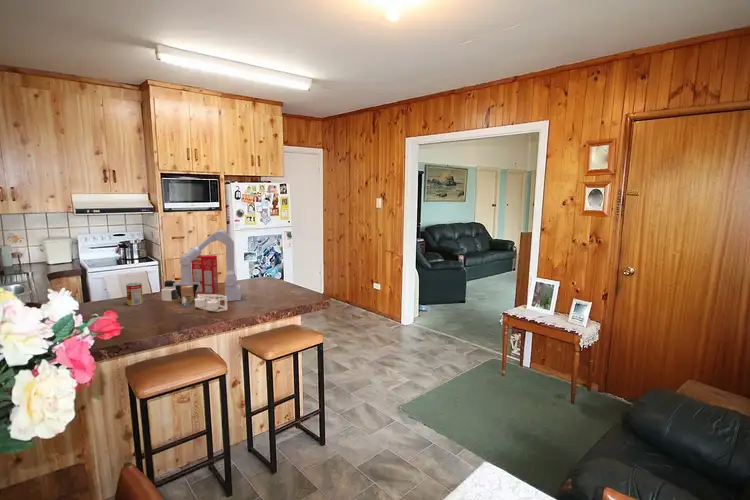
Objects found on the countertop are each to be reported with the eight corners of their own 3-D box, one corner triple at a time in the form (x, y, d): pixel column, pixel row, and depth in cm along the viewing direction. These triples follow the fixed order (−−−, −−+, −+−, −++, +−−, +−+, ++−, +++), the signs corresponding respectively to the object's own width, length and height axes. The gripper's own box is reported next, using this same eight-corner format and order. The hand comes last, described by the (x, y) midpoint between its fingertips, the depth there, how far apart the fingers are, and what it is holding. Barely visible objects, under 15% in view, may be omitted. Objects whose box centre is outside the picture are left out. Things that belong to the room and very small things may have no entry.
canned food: (139, 301, 245) (137, 281, 243) (145, 303, 240) (144, 283, 239) (125, 303, 239) (123, 284, 237) (131, 306, 234) (129, 286, 232)
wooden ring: (193, 300, 248) (193, 295, 248) (192, 302, 243) (192, 297, 243) (183, 301, 246) (183, 296, 246) (182, 303, 241) (182, 298, 241)
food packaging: (218, 292, 269) (216, 255, 266) (214, 294, 264) (212, 256, 260) (197, 291, 271) (195, 254, 267) (193, 293, 265) (191, 255, 262)
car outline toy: (191, 308, 232) (190, 296, 231) (207, 304, 241) (207, 292, 240) (214, 314, 222) (213, 301, 221) (230, 309, 231) (230, 296, 230)
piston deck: (189, 304, 240) (189, 296, 239) (188, 306, 234) (188, 298, 233) (180, 304, 238) (180, 296, 237) (179, 307, 232) (178, 299, 232)
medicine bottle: (171, 301, 245) (170, 282, 244) (161, 300, 247) (160, 281, 245) (179, 298, 252) (178, 279, 251) (169, 297, 254) (168, 279, 252)
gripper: (200, 273, 249) (200, 294, 250) (173, 274, 244) (175, 296, 246) (199, 275, 242) (200, 297, 244) (172, 277, 237) (173, 299, 239)
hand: (187, 297), depth 244 cm, fingers open, 7 cm apart
